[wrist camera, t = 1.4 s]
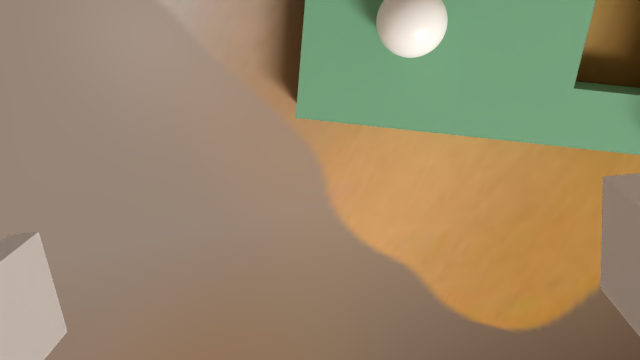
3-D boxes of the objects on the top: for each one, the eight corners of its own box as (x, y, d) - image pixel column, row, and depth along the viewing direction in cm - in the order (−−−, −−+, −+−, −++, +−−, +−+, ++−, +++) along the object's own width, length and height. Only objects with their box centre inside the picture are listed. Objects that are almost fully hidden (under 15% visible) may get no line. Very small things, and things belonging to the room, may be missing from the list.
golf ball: (379, -21, 31) (382, -18, 27) (448, -14, 31) (458, -10, 27) (371, 48, 32) (372, 59, 29) (436, 55, 32) (445, 66, 29)
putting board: (318, -114, 32) (310, -127, 26) (739, -73, 31) (814, -78, 26) (299, 107, 36) (289, 132, 31) (669, 146, 35) (721, 179, 30)
